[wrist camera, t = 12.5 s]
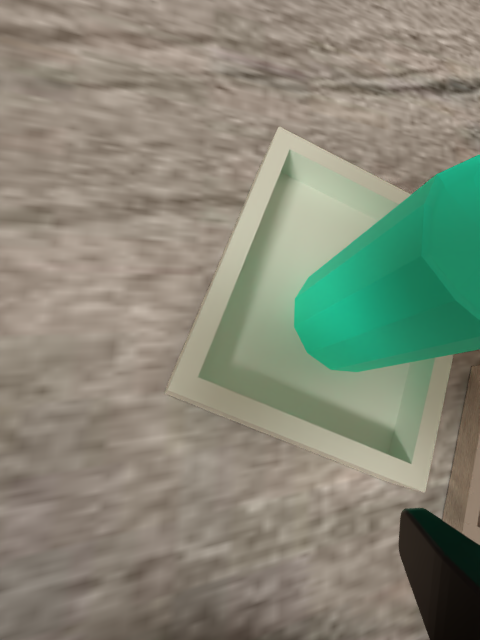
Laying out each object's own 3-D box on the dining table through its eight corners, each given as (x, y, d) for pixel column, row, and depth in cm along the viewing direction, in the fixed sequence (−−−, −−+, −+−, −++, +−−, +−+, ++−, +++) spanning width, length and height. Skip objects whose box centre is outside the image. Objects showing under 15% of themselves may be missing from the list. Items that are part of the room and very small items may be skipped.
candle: (376, 261, 23) (598, 119, 12) (403, 362, 22) (675, 310, 11) (282, 273, 22) (436, 121, 10) (306, 382, 21) (508, 346, 9)
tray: (387, 482, 22) (425, 492, 19) (163, 393, 20) (167, 390, 17) (442, 249, 26) (479, 229, 23) (262, 159, 24) (278, 126, 21)
